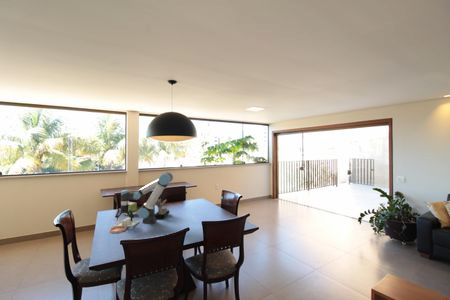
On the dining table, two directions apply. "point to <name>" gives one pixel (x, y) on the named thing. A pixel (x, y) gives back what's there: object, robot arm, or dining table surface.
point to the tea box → (132, 208)
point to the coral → (161, 209)
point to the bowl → (117, 229)
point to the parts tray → (128, 224)
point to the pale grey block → (124, 222)
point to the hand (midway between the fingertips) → (124, 224)
